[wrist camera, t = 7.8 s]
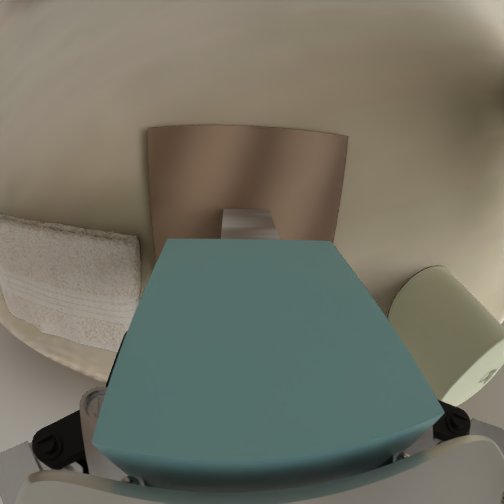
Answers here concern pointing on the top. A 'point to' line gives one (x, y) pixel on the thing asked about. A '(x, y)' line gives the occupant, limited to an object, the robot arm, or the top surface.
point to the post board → (244, 183)
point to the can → (447, 334)
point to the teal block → (259, 372)
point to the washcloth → (70, 279)
